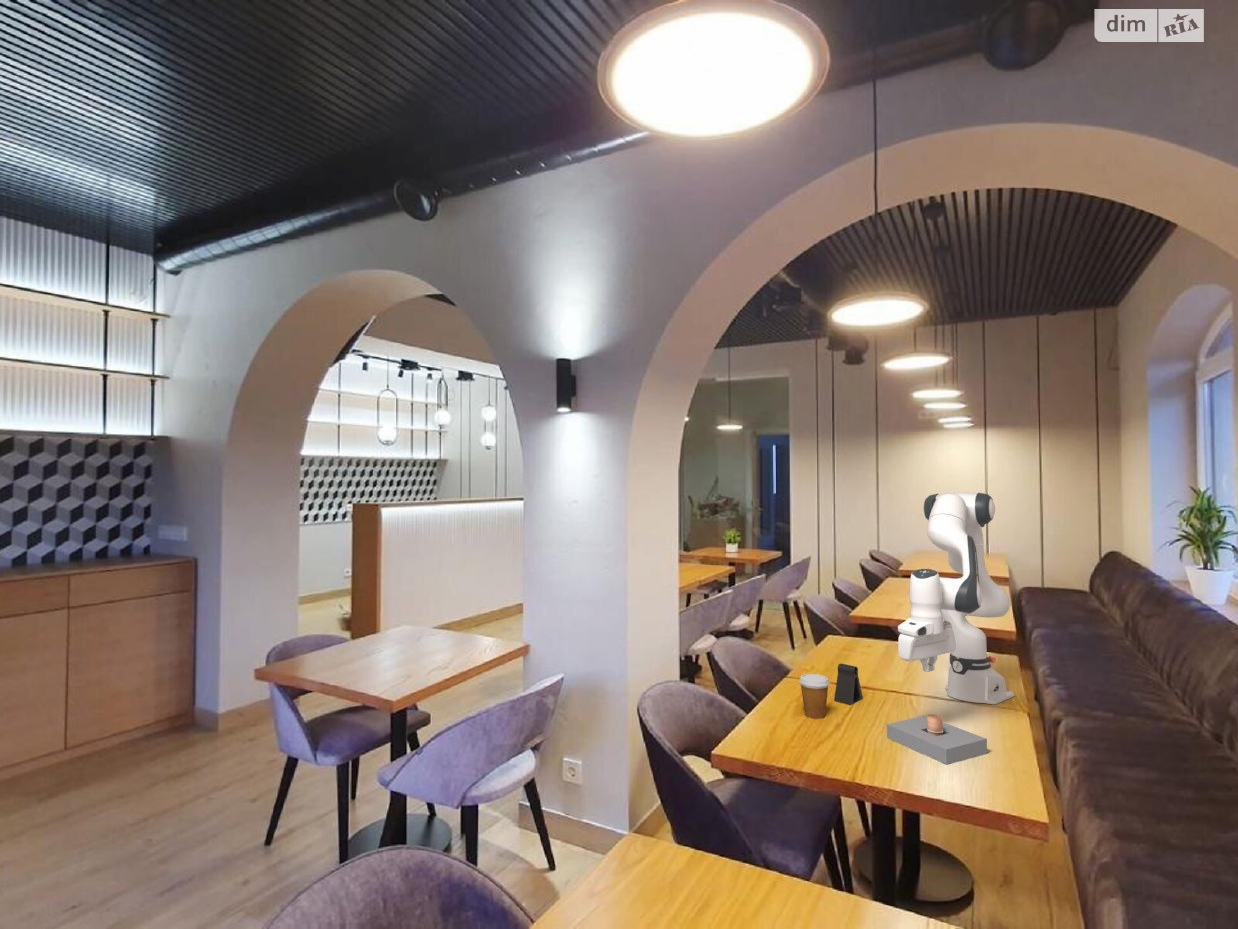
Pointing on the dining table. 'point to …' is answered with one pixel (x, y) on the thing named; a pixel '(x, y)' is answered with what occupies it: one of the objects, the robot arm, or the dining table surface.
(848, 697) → the phone stand
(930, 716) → the terracotta peg
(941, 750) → the gray board
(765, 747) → the dining table surface
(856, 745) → the dining table surface
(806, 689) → the disposable coffee cup
